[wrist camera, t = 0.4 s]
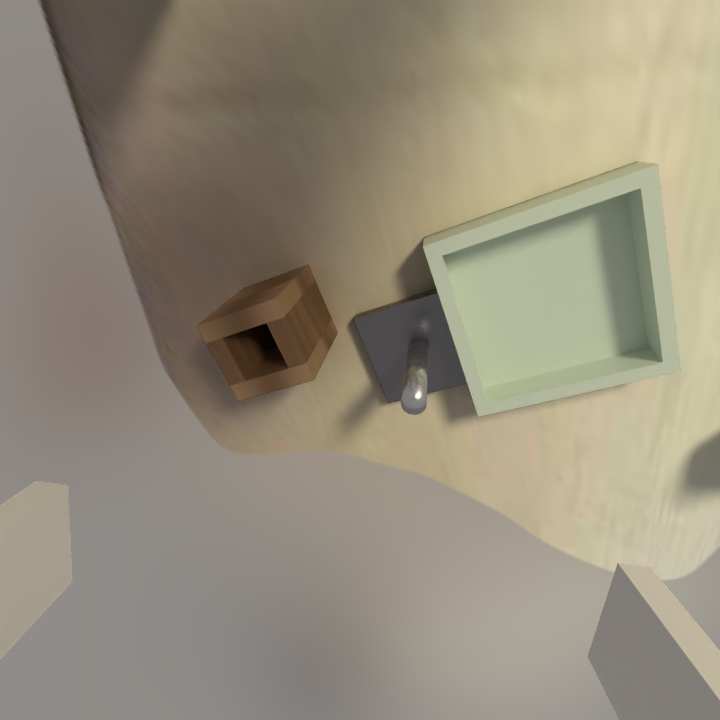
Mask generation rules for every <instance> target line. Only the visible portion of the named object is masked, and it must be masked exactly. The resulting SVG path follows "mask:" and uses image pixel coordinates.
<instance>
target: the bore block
mask: <svg viewBox="0 0 720 720" xmlns="http://www.w3.org/2000/svg"><path fill="white" fill-rule="evenodd" d="M196 327H197V329H198V330H199V332H200V334H201V336H202V338H203V339H204V341H205V343H206V345H207V346H208V348H209V350H210V352H211V353H212V355H213V357H214V359H215V361H216V362H217V364H218V366H219V368H220V369H221V371H222V373H223V375H224V376H225V378H226V380H227V382H228V384H229V385H230V387H231V389H232V391H233V392H234V394H235V396H236V398H237V399H238V401H241V400H245V399H248V398H252V397H255V396H259V395H263V394H266V393H270V392H273V391H277V390H280V389H284V388H288V387H291V386H295V385H298V384H302V383H305V382H309V381H313V380H314V379H315V377H316V375H317V373H318V371H319V369H320V367H321V365H322V363H323V361H324V359H325V357H326V355H327V353H328V351H329V349H330V347H331V345H332V343H333V341H334V339H335V337H336V335H337V333H338V332H337V330H336V328H335V325H334V323H333V321H332V318H331V316H330V314H329V312H328V309H327V307H326V305H325V302H324V300H323V298H322V295H321V293H320V291H319V288H318V286H317V284H316V282H315V279H314V277H313V275H312V272H311V270H310V268H309V265H307V266H304V267H301V268H298V269H296V270H293V271H290V272H287V273H285V274H282V275H279V276H277V277H274V278H271V279H268V280H266V281H263V282H260V283H257V284H255V285H252V286H249V287H247V288H244V289H242V290H241V291H240V292H238V293H237V294H236V295H235V296H233V297H232V298H231V299H230V300H228V301H227V302H226V303H225V304H223V305H222V306H221V307H220V308H218V309H217V310H216V311H214V312H213V313H212V314H211V315H209V316H208V317H207V318H206V319H204V320H203V321H202V322H201V323H199V324H198V325H197V326H196Z"/></svg>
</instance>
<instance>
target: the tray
mask: <svg viewBox="0 0 720 720" xmlns="http://www.w3.org/2000/svg"><path fill="white" fill-rule="evenodd" d="M423 249H424V252H425V255H426V258H427V261H428V264H429V267H430V270H431V273H432V276H433V279H434V283H435V286H436V289H437V292H438V295H439V298H440V301H441V304H442V307H443V310H444V313H445V316H446V319H447V322H448V326H449V329H450V332H451V335H452V338H453V341H454V344H455V347H456V350H457V353H458V356H459V359H460V362H461V365H462V368H463V372H464V375H465V378H466V381H467V384H468V387H469V390H470V393H471V396H472V399H473V402H474V405H475V408H476V411H477V415H478V417H479V416H484V415H488V414H493V413H497V412H502V411H506V410H511V409H515V408H519V407H524V406H528V405H533V404H537V403H542V402H546V401H550V400H555V399H559V398H564V397H568V396H573V395H577V394H582V393H586V392H590V391H595V390H599V389H604V388H608V387H613V386H617V385H621V384H626V383H630V382H635V381H639V380H644V379H648V378H652V377H657V376H661V375H666V374H670V373H675V372H679V371H681V368H680V359H679V350H678V341H677V332H676V323H675V314H674V304H673V295H672V286H671V277H670V268H669V259H668V250H667V241H666V232H665V223H664V214H663V205H662V196H661V187H660V178H659V169H658V164H653V163H646V162H638V161H637V162H634V163H631V164H628V165H625V166H623V167H620V168H617V169H614V170H611V171H609V172H606V173H603V174H600V175H597V176H595V177H592V178H589V179H586V180H583V181H581V182H578V183H575V184H572V185H569V186H567V187H564V188H561V189H558V190H555V191H553V192H550V193H547V194H544V195H541V196H539V197H536V198H533V199H530V200H527V201H525V202H522V203H519V204H516V205H513V206H511V207H508V208H505V209H502V210H499V211H497V212H494V213H491V214H488V215H485V216H482V217H480V218H477V219H474V220H471V221H468V222H466V223H463V224H460V225H457V226H454V227H452V228H449V229H446V230H443V231H440V232H438V233H435V234H432V235H429V236H426V237H424V241H423Z"/></svg>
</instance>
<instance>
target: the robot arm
mask: <svg viewBox="0 0 720 720" xmlns="http://www.w3.org/2000/svg"><path fill="white" fill-rule="evenodd" d="M69 525H70V522H69V500H68V485H62V484H55V483H48V482H40V481H35V482H34V483H33V484H31V485H30V486H28V487H27V488H25V489H24V490H22V491H21V492H20V493H18V494H16V495H15V496H14V497H12V498H11V499H9V500H7V501H6V502H5V503H3V504H2V505H0V659H1V658H2V657H3V656H4V655H5V654H6V653H7V652H8V651H9V649H10V648H11V647H12V646H13V645H14V644H15V643H16V642H17V641H18V640H19V639H20V638H21V636H22V635H23V634H24V633H25V632H26V631H27V630H28V629H29V628H30V627H31V625H32V624H33V623H34V622H35V621H36V620H37V619H38V618H39V617H40V616H41V615H42V614H43V613H44V612H45V610H46V609H47V608H48V607H49V606H50V605H51V604H52V603H53V602H54V600H55V599H56V598H57V597H58V596H59V595H60V594H61V593H62V592H63V591H64V590H65V589H66V588H67V587H68V585H69V584H70V583H71V582H72V567H71V548H70V547H71V546H70V545H71V544H70V526H69ZM588 658H589V660H590V662H591V664H592V666H593V668H594V670H595V672H596V674H597V676H598V678H599V680H600V682H601V684H602V686H603V687H604V690H605V692H606V694H607V696H608V698H609V700H610V702H611V704H612V705H613V708H614V710H615V712H616V713H617V716H618V718H619V720H720V650H719V649H718V648H717V647H716V646H715V645H714V643H713V642H712V641H711V640H710V638H709V637H708V636H707V635H706V634H705V632H704V631H703V630H702V629H701V628H700V626H699V625H698V624H697V623H696V622H695V620H694V619H693V618H692V617H691V616H690V614H689V613H688V612H687V611H686V610H685V608H684V607H683V606H682V605H681V604H680V602H679V601H678V600H677V599H676V598H675V596H674V595H673V594H672V593H671V592H670V590H669V589H668V588H667V587H666V586H665V584H664V583H663V582H662V581H661V580H660V578H659V577H658V576H657V575H656V574H655V572H654V571H653V570H652V569H651V568H649V567H642V566H635V565H628V564H621V563H618V564H617V567H616V570H615V573H614V577H613V580H612V583H611V586H610V589H609V592H608V595H607V598H606V601H605V605H604V607H603V611H602V614H601V617H600V620H599V623H598V626H597V630H596V632H595V635H594V638H593V642H592V644H591V648H590V651H589V654H588Z"/></svg>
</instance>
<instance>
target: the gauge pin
mask: <svg viewBox="0 0 720 720" xmlns="http://www.w3.org/2000/svg"><path fill="white" fill-rule="evenodd" d="M353 320H354V322H355V324H356V327H357V329H358V332H359V334H360V337H361V339H362V341H363V344H364V346H365V349H366V351H367V353H368V356H369V358H370V361H371V363H372V366H373V368H374V370H375V373H376V375H377V378H378V380H379V383H380V385H381V387H382V390H383V392H384V395H385V397H386V399H387V402H388V403H391V402H395V401H399V400H401V406H402V408H403V410H404V411H405V412H407V413H409V414H413V415H416V414H420V413H422V412H423V411H424V410H425V408H426V404H427V393H431V392H435V391H439V390H443V389H447V388H451V387H455V386H459V385H463V384H467V381H466V378H465V375H464V372H463V368H462V365H461V362H460V359H459V356H458V353H457V350H456V347H455V344H454V341H453V338H452V335H451V332H450V329H449V326H448V322H447V319H446V316H445V313H444V310H443V307H442V304H441V301H440V298H439V295H438V292H437V289H435V290H432V291H429V292H426V293H423V294H420V295H417V296H413V297H410V298H407V299H404V300H401V301H398V302H395V303H391V304H388V305H385V306H382V307H379V308H376V309H373V310H369V311H366V312H363V313H360V314H357V315H355V317H354V319H353Z"/></svg>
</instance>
